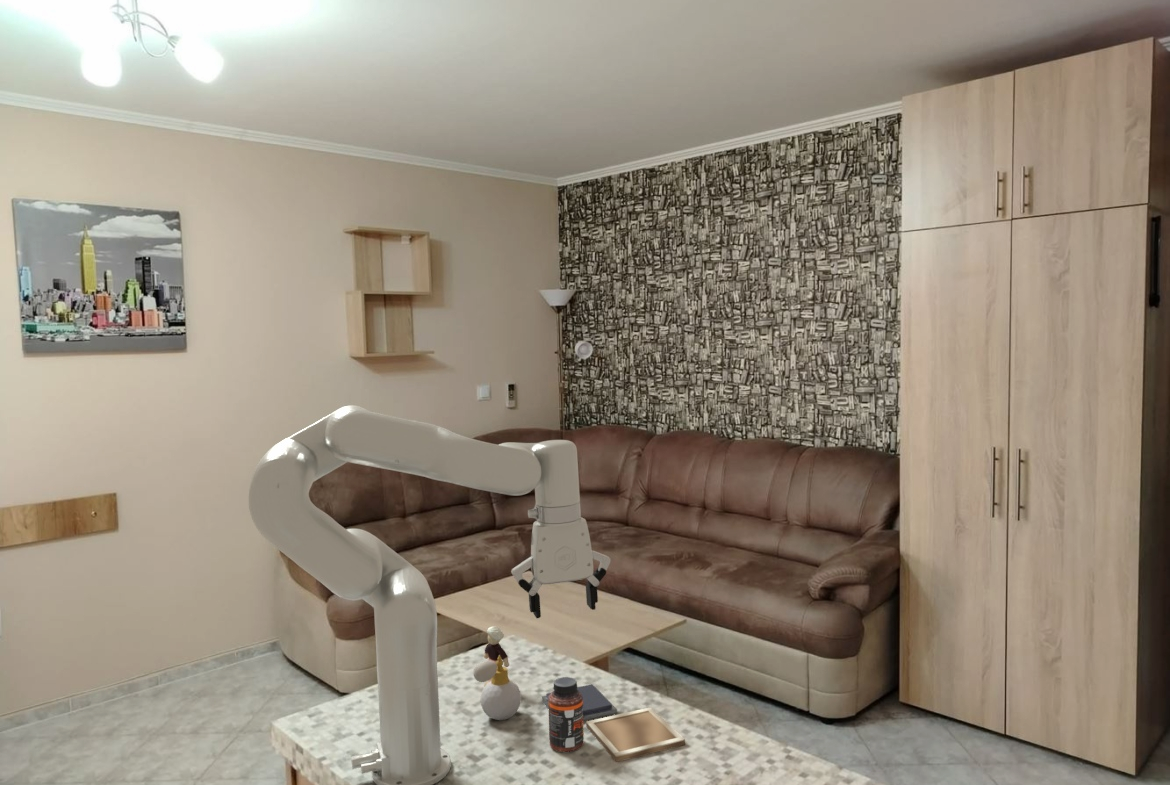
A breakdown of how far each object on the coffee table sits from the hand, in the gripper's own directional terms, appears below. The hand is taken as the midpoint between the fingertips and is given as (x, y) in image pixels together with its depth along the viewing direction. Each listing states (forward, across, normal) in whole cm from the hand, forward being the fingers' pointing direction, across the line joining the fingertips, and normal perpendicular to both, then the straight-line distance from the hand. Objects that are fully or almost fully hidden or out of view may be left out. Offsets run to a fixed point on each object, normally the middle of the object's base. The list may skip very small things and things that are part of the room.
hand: (564, 611), depth 134 cm
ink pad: (+24, +4, +12) cm, 27 cm away
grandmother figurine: (+23, -9, +26) cm, 36 cm away
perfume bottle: (+23, -11, +12) cm, 28 cm away
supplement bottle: (+24, -1, -1) cm, 24 cm away
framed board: (+24, +11, -1) cm, 26 cm away
